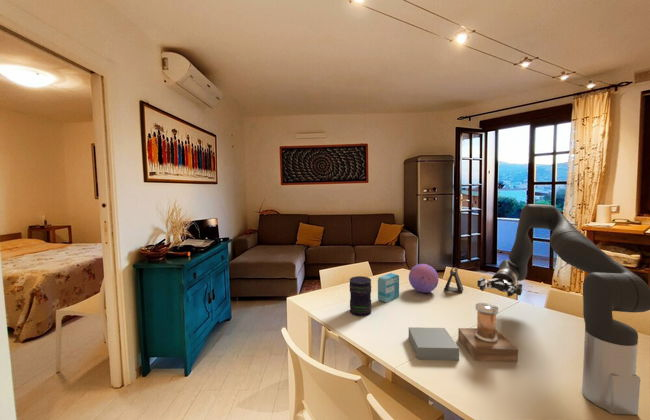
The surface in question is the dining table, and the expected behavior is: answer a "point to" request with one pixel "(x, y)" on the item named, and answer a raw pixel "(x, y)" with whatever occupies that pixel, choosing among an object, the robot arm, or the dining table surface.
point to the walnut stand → (487, 347)
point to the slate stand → (433, 344)
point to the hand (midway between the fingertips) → (494, 291)
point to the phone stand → (458, 282)
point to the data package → (388, 287)
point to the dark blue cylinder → (360, 296)
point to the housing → (486, 322)
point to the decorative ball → (423, 278)
